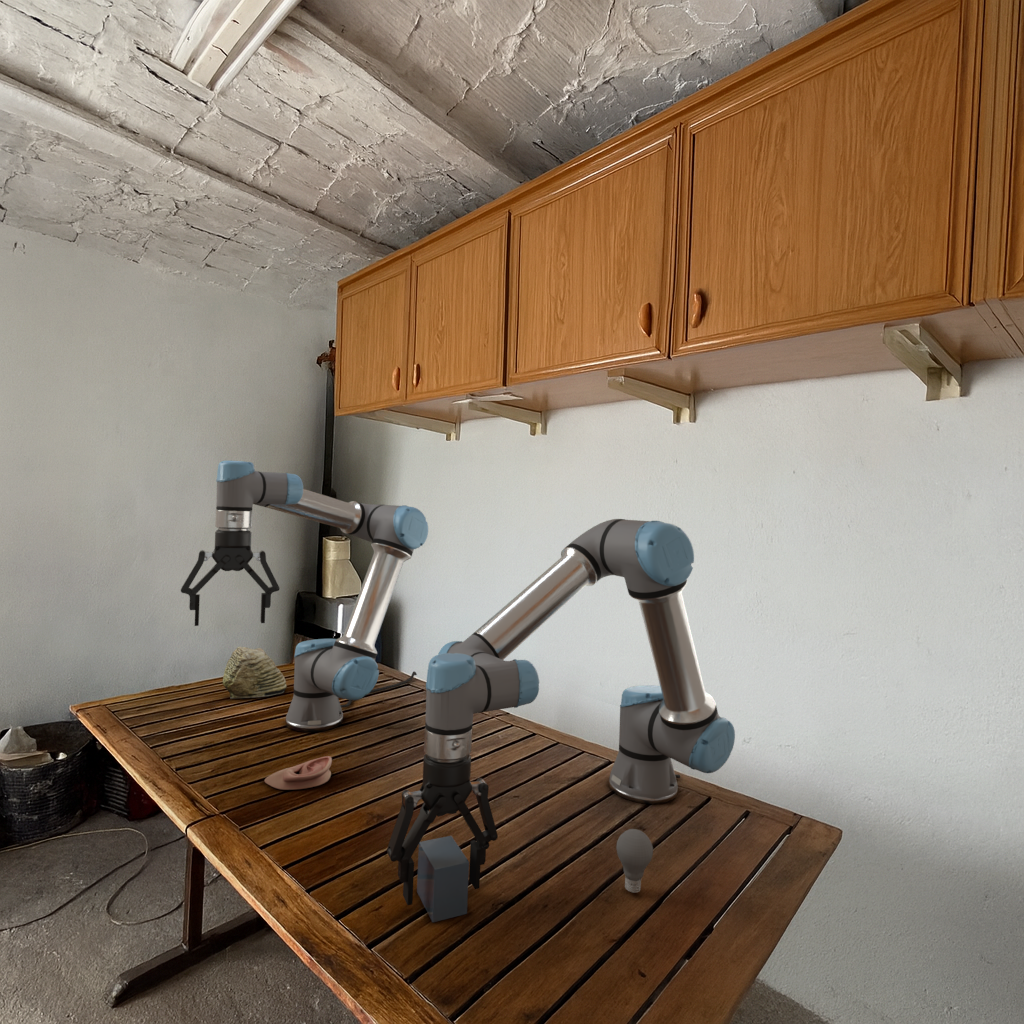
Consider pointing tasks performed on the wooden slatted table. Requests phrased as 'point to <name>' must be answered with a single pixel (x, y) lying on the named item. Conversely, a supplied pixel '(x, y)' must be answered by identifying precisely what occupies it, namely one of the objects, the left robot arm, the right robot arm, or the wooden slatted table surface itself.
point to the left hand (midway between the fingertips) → (230, 623)
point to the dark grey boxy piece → (442, 878)
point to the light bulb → (634, 857)
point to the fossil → (252, 674)
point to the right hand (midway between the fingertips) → (441, 891)
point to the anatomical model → (302, 775)
